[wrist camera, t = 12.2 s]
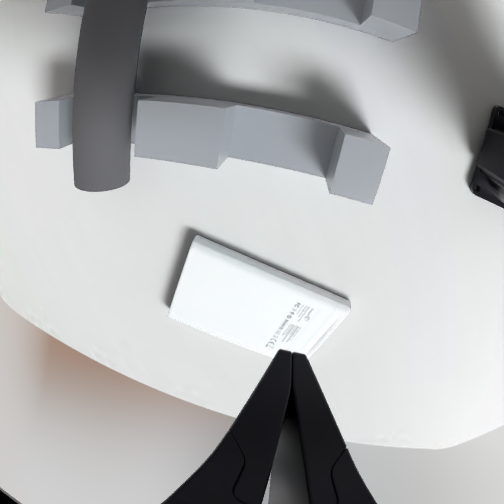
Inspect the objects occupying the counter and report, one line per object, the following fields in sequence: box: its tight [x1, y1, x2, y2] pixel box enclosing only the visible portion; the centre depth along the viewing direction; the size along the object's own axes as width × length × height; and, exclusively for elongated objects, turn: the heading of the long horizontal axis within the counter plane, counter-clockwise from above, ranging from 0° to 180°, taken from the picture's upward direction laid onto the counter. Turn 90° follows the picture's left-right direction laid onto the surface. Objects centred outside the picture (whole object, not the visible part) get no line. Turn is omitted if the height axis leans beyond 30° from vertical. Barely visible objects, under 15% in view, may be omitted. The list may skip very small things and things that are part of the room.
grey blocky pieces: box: [35, 0, 422, 205], centre depth 13 cm, size 20×13×4 cm, turn 81°
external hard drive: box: [168, 235, 351, 359], centre depth 24 cm, size 2×8×12 cm
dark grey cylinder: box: [73, 0, 148, 192], centre depth 12 cm, size 4×16×4 cm, turn 171°
